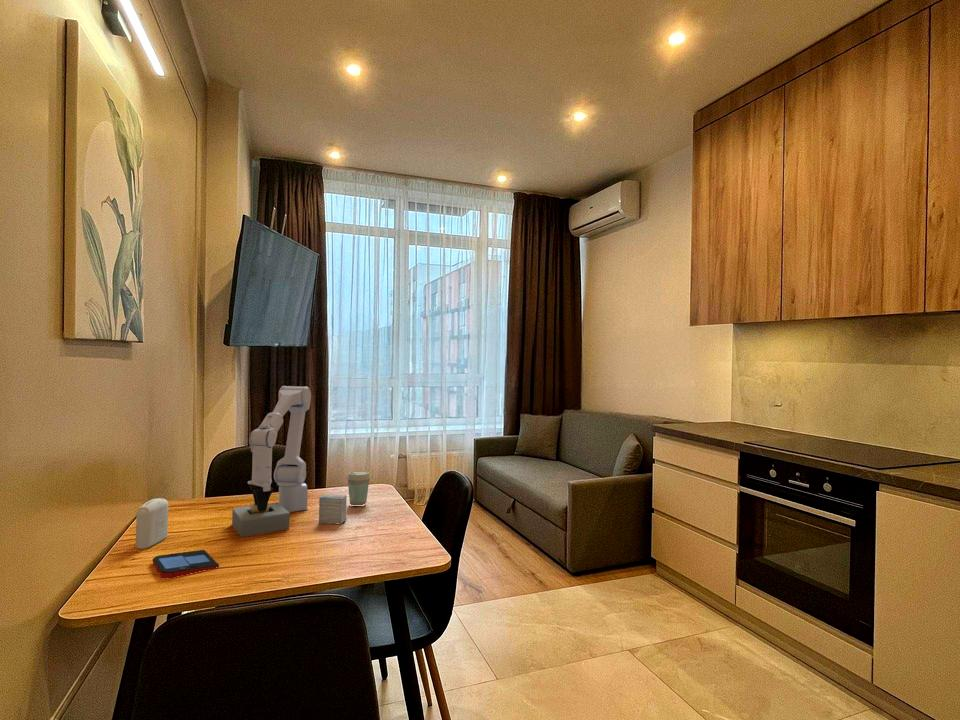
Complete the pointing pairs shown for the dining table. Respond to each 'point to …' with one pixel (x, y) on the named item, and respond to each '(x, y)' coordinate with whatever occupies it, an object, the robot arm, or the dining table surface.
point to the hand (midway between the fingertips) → (260, 509)
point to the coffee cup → (358, 487)
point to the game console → (183, 563)
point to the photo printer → (151, 523)
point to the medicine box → (332, 508)
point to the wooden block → (255, 509)
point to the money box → (260, 520)
